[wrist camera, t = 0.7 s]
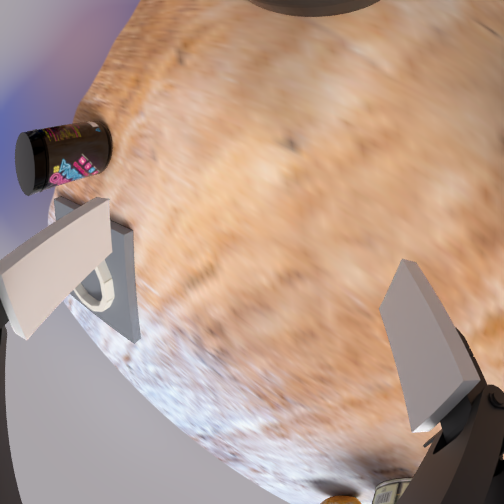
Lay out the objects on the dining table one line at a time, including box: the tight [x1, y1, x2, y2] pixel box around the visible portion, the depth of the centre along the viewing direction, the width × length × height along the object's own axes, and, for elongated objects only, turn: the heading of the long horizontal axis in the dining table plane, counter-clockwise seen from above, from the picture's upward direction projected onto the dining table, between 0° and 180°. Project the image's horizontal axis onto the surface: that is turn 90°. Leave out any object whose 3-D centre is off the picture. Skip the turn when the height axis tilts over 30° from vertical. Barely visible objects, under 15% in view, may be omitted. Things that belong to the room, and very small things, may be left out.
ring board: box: [54, 196, 141, 344], centre depth 37 cm, size 18×18×3 cm
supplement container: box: [15, 121, 112, 196], centre depth 25 cm, size 7×7×10 cm
